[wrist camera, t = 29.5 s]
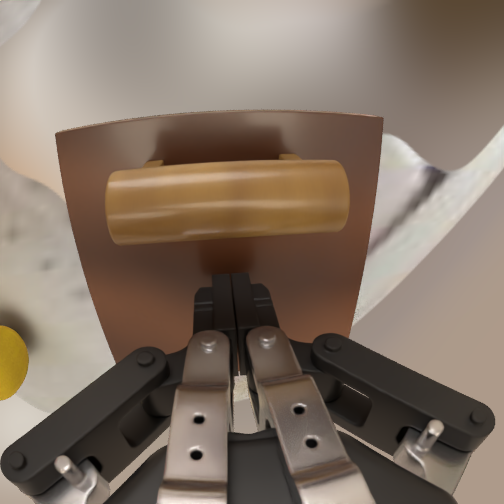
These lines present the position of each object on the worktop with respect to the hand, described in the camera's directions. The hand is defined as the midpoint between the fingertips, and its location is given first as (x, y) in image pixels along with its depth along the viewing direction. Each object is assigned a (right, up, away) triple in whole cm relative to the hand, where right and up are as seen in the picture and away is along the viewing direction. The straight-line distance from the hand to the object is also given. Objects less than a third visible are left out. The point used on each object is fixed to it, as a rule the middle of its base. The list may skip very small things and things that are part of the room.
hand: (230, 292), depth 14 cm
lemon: (-21, -6, +10) cm, 23 cm away
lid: (0, +1, +1) cm, 2 cm away
